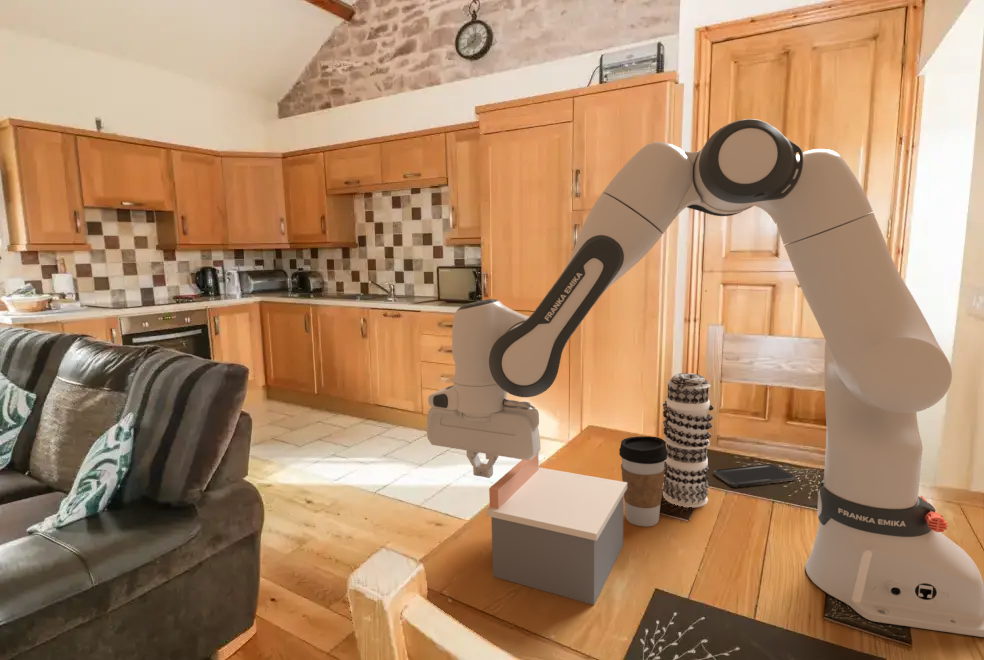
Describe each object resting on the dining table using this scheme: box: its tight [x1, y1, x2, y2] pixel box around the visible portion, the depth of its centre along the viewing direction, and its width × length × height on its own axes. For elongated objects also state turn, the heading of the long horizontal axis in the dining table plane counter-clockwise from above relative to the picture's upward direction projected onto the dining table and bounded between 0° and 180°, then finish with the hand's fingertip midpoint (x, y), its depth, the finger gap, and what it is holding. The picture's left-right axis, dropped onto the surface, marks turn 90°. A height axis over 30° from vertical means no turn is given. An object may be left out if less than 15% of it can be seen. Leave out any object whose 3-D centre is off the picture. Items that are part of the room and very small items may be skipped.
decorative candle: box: [662, 372, 714, 509], centre depth 104 cm, size 9×9×25 cm
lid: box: [486, 453, 627, 541], centre depth 84 cm, size 17×18×4 cm
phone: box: [713, 463, 796, 488], centre depth 115 cm, size 8×1×15 cm
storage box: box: [490, 495, 624, 606], centre depth 85 cm, size 16×17×10 cm
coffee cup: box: [618, 435, 667, 527], centre depth 97 cm, size 8×8×15 cm
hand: (483, 475), depth 91 cm, fingers closed
